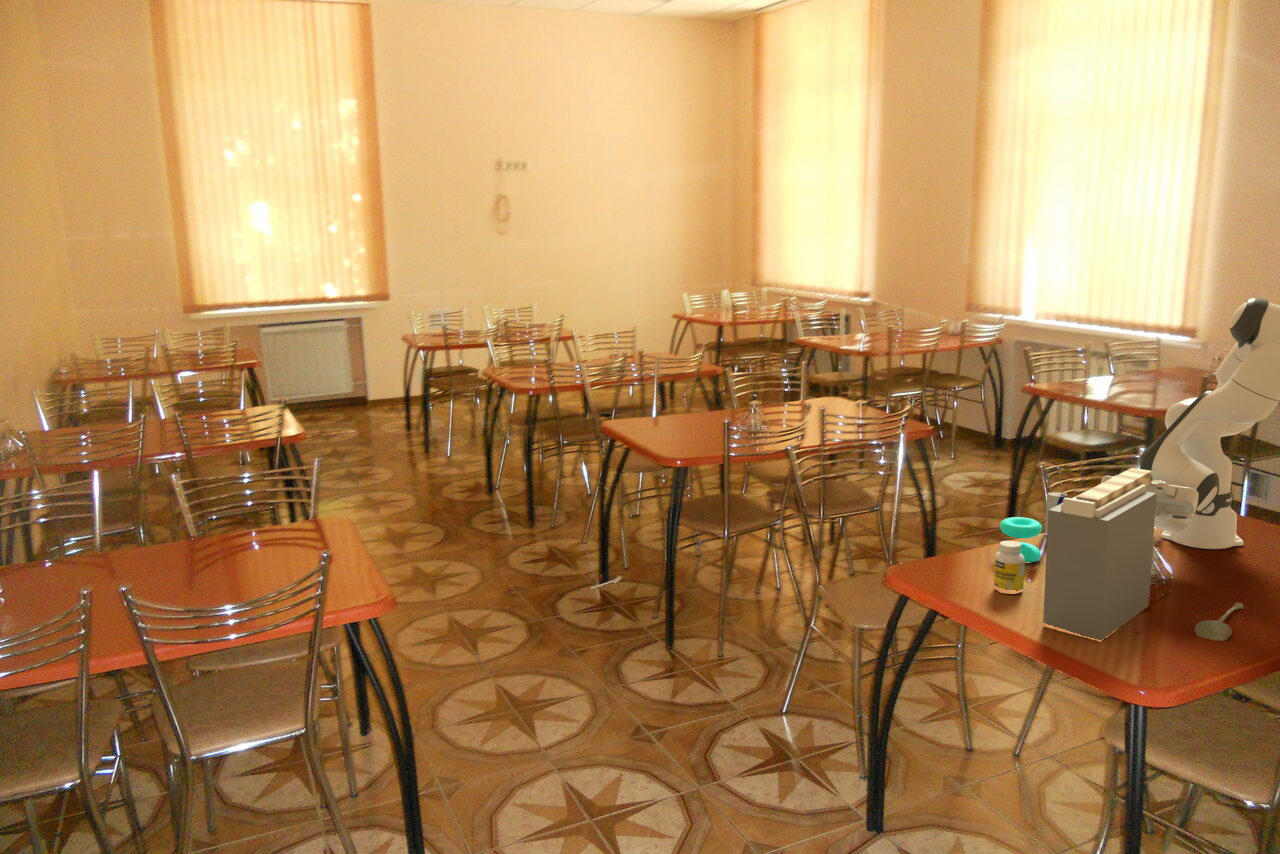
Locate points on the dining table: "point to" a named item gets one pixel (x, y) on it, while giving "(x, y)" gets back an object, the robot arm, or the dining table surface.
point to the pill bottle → (1009, 566)
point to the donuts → (1023, 535)
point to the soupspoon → (1216, 627)
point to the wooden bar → (1116, 486)
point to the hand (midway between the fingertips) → (1138, 481)
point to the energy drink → (1053, 503)
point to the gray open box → (1099, 562)
